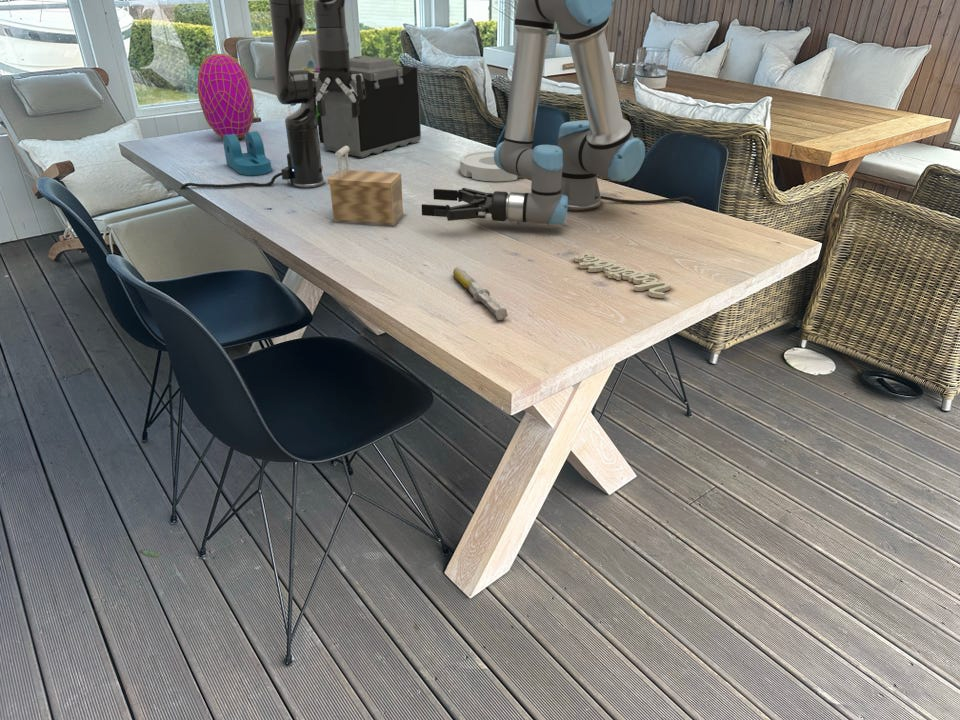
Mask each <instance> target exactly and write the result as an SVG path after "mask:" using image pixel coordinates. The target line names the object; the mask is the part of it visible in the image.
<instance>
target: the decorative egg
mask: <svg viewBox="0 0 960 720" xmlns="http://www.w3.org/2000/svg"><path fill="white" fill-rule="evenodd" d="M197 94H198V101H199V104H200V107H201V110H202V113H203V116H204V119H205V120H206V122H207V124H208V126H209V127H210V128H211V130H212V131H213V132H214V133H215V134H216V135H217V136H218V137H220V138H221V139H223V137H224V135H230V134H235V135H236V136H237V138H238V140H239V139H242V138H243V137H246V133H247V132H250V129H251V126H252V124H253V119H254V111H255V110H254V108H255V107H254V106H255V101H254V95H253V91H252V87H251V84H250V81H249V78H248V75H247V74H246V71H245V69H244V68H243V66H242V65H241V64H240V63H239V62H238V60H237V59H236V58H234V57H233V56H231V55H229V54H225V53H214V54H211V55H209V56H206V57H205V59H204V60H203V61H202V63H201V64H200V67H199V70H198V74H197Z"/></svg>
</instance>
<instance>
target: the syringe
mask: <svg viewBox="0 0 960 720" xmlns="http://www.w3.org/2000/svg"><path fill="white" fill-rule="evenodd" d="M452 274H453V277H454V279H455V280H457V281H458V282H459V283H460V285H462V287H464V289H466V290H467V291H468V293H470V295H471V296H472V298H473V300H474V302H477V303H478V302H480V303H482V304H483V305H484V306H485V307H486V308H487V309H488V310H489V311H490V312H491V313H492V314H493V315H494V316H495V317H496V320H497V321H503V320H504V319H506V318H507V317H509V314H508V310H507V308H506V307H502V306H501V305H500V303H498V302H497V301H496V300H494V299H493V298H492V297H491V296H490V295H491V293H490V290H488V289H486V288H483V287H482V286H481V285H480V284H479V283H478V282H477V281H476V280H474V278H473V277H471V275H469V274H468V273H467V272H466V270H465V269H464V268H463V267H462V266H456V267H454V268H453V271H452Z"/></svg>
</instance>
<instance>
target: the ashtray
mask: <svg viewBox="0 0 960 720" xmlns="http://www.w3.org/2000/svg"><path fill="white" fill-rule="evenodd" d="M494 152H495V150H482V151H474V152H470V153H467V154H464V155H462V156H461V157H460V159H459V171H460V175H462V176H463V177H466V178H471V179H472V180H475V181H482V182H509V181H516V180H518V179H523V178H522V177H520V176H517V175H514V174H510V173H507V172H506V171H504V170H502V169H500V168H498V167H497V166H496V164H495V162H494Z"/></svg>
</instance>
